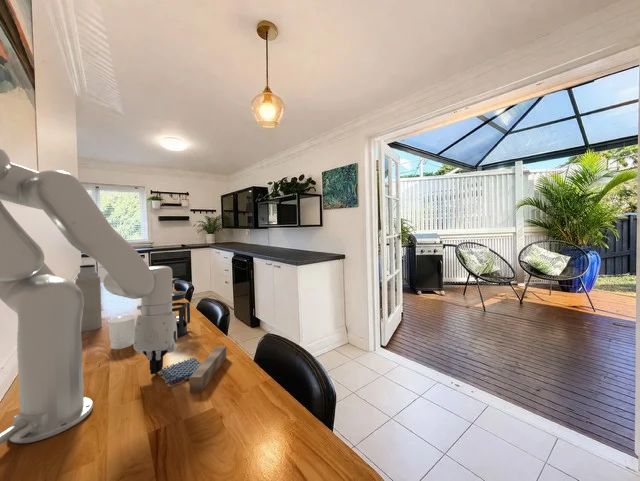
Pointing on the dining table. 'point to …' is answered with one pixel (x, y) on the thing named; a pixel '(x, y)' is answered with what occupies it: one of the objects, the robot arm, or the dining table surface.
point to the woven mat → (179, 371)
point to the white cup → (121, 331)
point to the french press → (180, 311)
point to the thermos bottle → (90, 297)
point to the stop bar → (207, 369)
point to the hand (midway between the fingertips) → (156, 371)
